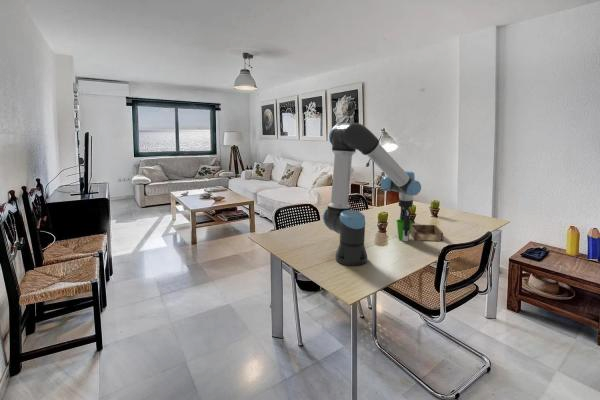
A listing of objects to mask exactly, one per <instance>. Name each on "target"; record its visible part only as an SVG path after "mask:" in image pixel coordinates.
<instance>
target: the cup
mask: <svg viewBox="0 0 600 400" xmlns="http://www.w3.org/2000/svg"><path fill="white" fill-rule="evenodd" d="M413 223H414V221H413V220H411V219H410V230H409V232H408V240H409V239H410V236H411V234H410V231H411V226H412V224H413ZM396 226H397V236H398V240H399V241H400V242H404V241H403V229H404V220H401V219H400V218H399V219H396ZM406 228H407V227H406Z"/></svg>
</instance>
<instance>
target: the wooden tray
mask: <svg viewBox="0 0 600 400" xmlns="http://www.w3.org/2000/svg"><path fill="white" fill-rule="evenodd" d="M410 237H412V239H413V240H414V241H417V242H442V241H443V242H444V240H443V239H444V232H443V231H442V230H441V229H440V228H439V227H438V226H437V225H436V224H417V223H416V224H415V223H414V224H413V223H412V226H411V231H410Z"/></svg>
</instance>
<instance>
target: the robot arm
mask: <svg viewBox="0 0 600 400" xmlns="http://www.w3.org/2000/svg"><path fill="white" fill-rule="evenodd" d="M328 135H329V136H328V141H329V143H330V144H331V151H332V152H333V154H334V159H333V171H332V172H333V173H332V183H331V184H332V185H331V197H330V202H328V203H327V207H326V210H324V212H323V214H322V221H323V223H324V225H325V226H326V227H327V228H328V229H330V231H333V232H335V233H337V234H339V245H338V247H337V251H336V254H335V261H336V262H337V263H339V264H341V265H344V266H350V267H351V266H352V267H353V266H354V267H356V266H357V267H359V266H363V265H365V264H367V263H368V258H369V257H368V254H367V253H368V252H367V249H366V247H365V237H366V236H365V232H366V216H365V215H364V213H362V212H361V211H358V210H354V209H351V205H350V203H349V195H350V194H349V193H350V184H351V171H352V160H353V155H354V154H355V153H357V152H356V150H357V151H359V152H360V153H361V154H362V155H363V156H368V158H369V159H370V160H371V161H372V162H373V163H374V164H375V165H376V166H377V167H378V168H379V169H380V170H381V171H382V172H383V173H384V174H385V175H386V176H384V177H382V178H381V181H380V186H381V189H382V190H383V191H384V192H391V191H392V192H396V193H398V198H399V199H398V206H399V207H400V212H399V213H400V214H399V219H401V220H404V229H403V241H402V242H408V241H409V239H408V232H409V230H410V220H411V219H410V217H411V211H410V210H411V209H410V210H409V208H413V205H414V200H413V199H414V196H417V195H418V194H419V193H420V192H421V191H422V185H421V182H420V181H418V180H416V179H415V178H416V177H415V173H414V172H413V171H405V170H404V168H402V167H401V165H400V164H399V163H398V162H396V160H395V159H394V158H393V156H391V155H390V153H389V152H388V151H387V150H386V149H385V148H384V147H383V146H382V145H381V144H380V139H379V138H377V136H376V135H375V134H374V133H373V132H372V131H371V130H370V129H369V128H368V127H366V126H365V125H363V124H362V123H359V122H351V123H350V122H346V123H345V122H342V123H338V124H335V125H334V126H333V127H332V128H331V130H330V131H329V134H328ZM406 227H407V228H406Z"/></svg>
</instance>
